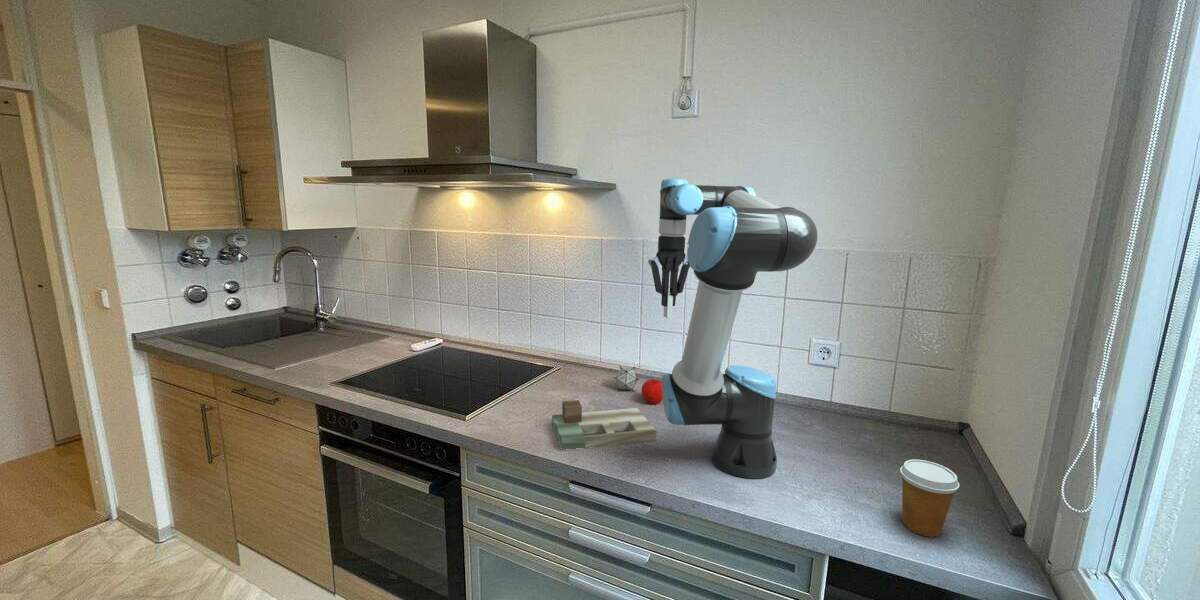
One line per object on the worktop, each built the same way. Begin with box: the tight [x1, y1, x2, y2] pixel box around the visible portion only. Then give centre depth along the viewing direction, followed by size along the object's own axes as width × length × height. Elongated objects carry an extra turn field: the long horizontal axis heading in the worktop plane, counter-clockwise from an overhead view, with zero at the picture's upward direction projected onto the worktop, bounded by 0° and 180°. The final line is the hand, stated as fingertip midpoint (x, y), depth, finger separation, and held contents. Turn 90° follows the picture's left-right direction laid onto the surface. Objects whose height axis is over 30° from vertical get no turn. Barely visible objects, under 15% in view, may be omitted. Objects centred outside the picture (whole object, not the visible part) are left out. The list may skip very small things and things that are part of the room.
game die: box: [613, 365, 640, 393], centre depth 164 cm, size 9×8×10 cm
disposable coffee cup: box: [899, 459, 960, 538], centre depth 95 cm, size 10×10×12 cm
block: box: [561, 399, 583, 424], centre depth 133 cm, size 4×4×4 cm
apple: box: [640, 378, 663, 405], centre depth 154 cm, size 8×8×7 cm
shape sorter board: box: [551, 407, 657, 451], centre depth 132 cm, size 15×25×3 cm, turn 105°
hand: (667, 317), depth 142 cm, fingers closed
